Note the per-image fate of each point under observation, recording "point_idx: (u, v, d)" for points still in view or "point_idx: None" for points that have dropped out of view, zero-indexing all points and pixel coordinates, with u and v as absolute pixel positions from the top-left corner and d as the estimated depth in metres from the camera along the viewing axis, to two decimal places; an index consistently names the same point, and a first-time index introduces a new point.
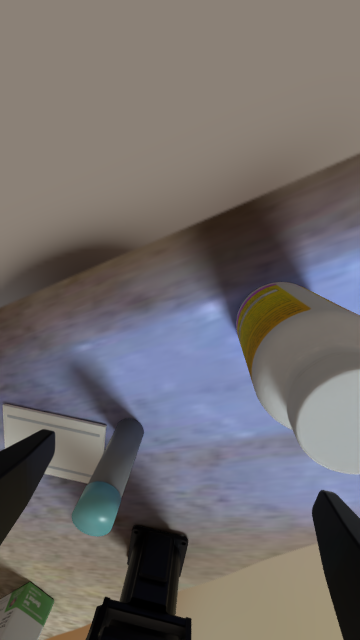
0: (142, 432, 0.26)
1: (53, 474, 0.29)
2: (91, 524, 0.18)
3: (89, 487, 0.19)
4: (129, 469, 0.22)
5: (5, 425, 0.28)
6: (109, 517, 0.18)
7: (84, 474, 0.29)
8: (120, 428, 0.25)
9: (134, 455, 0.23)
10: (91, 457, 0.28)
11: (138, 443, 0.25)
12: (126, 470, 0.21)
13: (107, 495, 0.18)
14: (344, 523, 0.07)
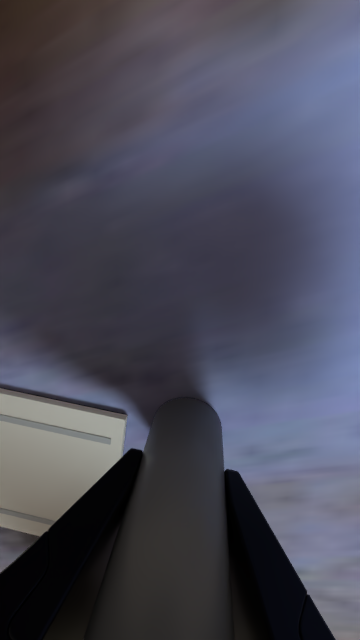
0: (221, 432, 0.10)
1: (6, 525, 0.13)
2: None
3: None
4: (229, 569, 0.06)
5: None
6: None
7: None
8: (171, 422, 0.09)
9: (225, 505, 0.07)
10: None
11: (223, 465, 0.09)
12: (227, 582, 0.05)
13: None
14: (232, 498, 0.07)
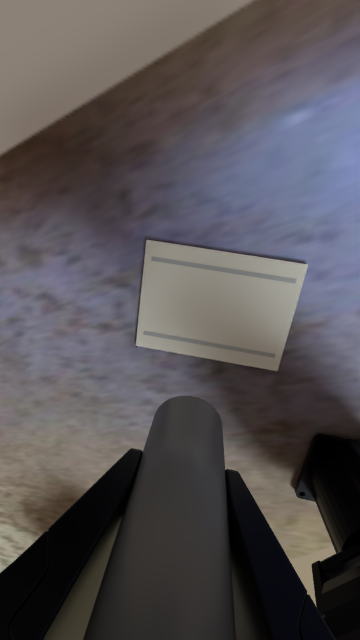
0: (222, 431, 0.10)
1: (207, 356, 0.20)
2: None
3: None
4: (230, 567, 0.06)
5: (145, 276, 0.19)
6: None
7: (257, 351, 0.19)
8: (172, 420, 0.09)
9: (226, 503, 0.07)
10: (273, 322, 0.19)
11: (224, 463, 0.09)
12: (228, 580, 0.05)
13: None
14: (232, 498, 0.07)
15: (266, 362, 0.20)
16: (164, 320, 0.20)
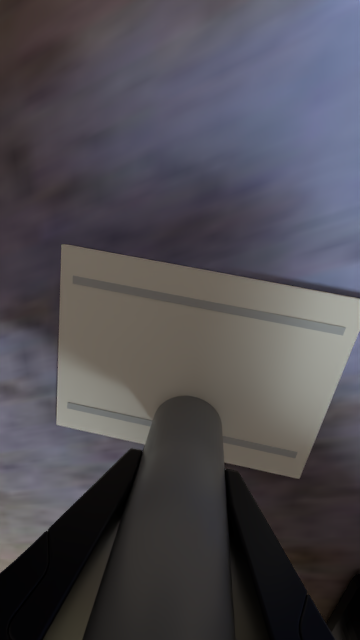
0: (221, 431, 0.10)
1: None
2: None
3: None
4: (230, 566, 0.06)
5: (64, 311, 0.10)
6: None
7: (265, 446, 0.11)
8: (172, 420, 0.09)
9: (226, 503, 0.07)
10: (297, 400, 0.10)
11: None
12: (228, 580, 0.05)
13: None
14: (232, 498, 0.07)
15: (280, 464, 0.11)
16: (102, 387, 0.11)
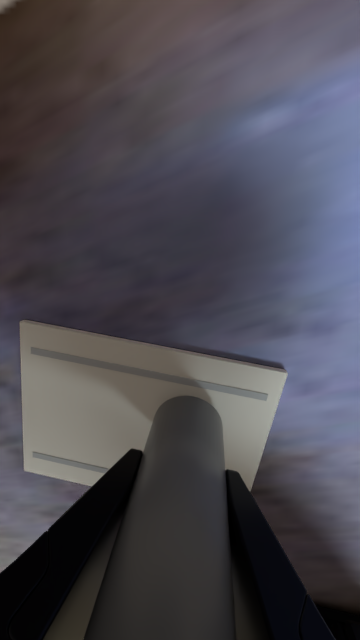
0: (222, 431, 0.10)
1: None
2: None
3: None
4: (231, 566, 0.06)
5: (25, 376, 0.12)
6: None
7: None
8: (172, 420, 0.09)
9: (227, 503, 0.07)
10: (233, 454, 0.11)
11: (224, 463, 0.09)
12: (229, 580, 0.05)
13: None
14: (232, 498, 0.07)
15: None
16: (62, 439, 0.12)
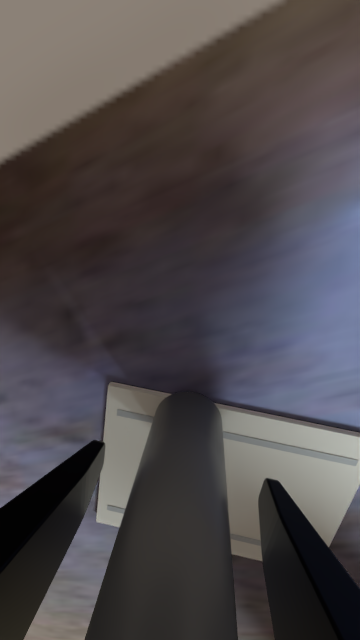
0: (221, 425, 0.10)
1: None
2: None
3: None
4: (230, 552, 0.06)
5: (108, 435, 0.12)
6: None
7: None
8: (173, 415, 0.09)
9: (226, 493, 0.08)
10: (315, 513, 0.12)
11: (224, 456, 0.09)
12: (229, 563, 0.06)
13: None
14: (279, 508, 0.07)
15: None
16: None
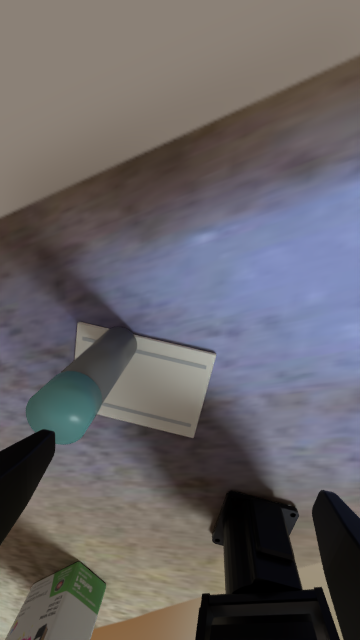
0: (135, 344, 0.20)
1: (132, 421, 0.23)
2: (55, 424, 0.12)
3: (55, 377, 0.13)
4: (116, 372, 0.16)
5: (77, 352, 0.21)
6: (83, 411, 0.12)
7: (175, 421, 0.22)
8: (107, 333, 0.19)
9: (124, 361, 0.17)
10: (189, 398, 0.21)
11: (130, 353, 0.19)
12: (112, 370, 0.15)
13: (81, 385, 0.12)
14: (344, 523, 0.07)
15: (183, 430, 0.22)
16: None
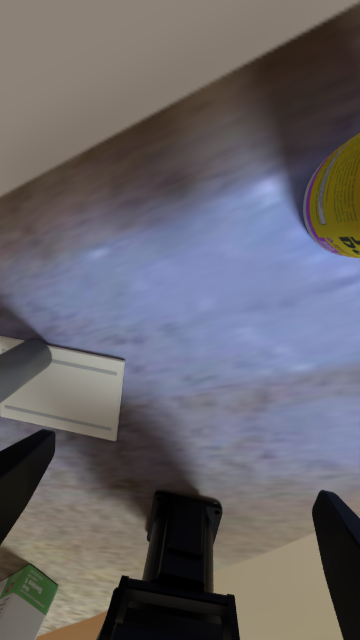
0: (48, 355, 0.21)
1: (58, 427, 0.24)
2: None
3: None
4: (8, 383, 0.17)
5: None
6: None
7: (97, 425, 0.23)
8: None
9: (24, 372, 0.18)
10: (106, 403, 0.22)
11: (37, 363, 0.20)
12: (0, 381, 0.17)
13: None
14: (344, 523, 0.07)
15: (105, 434, 0.23)
16: (20, 398, 0.23)
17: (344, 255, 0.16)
